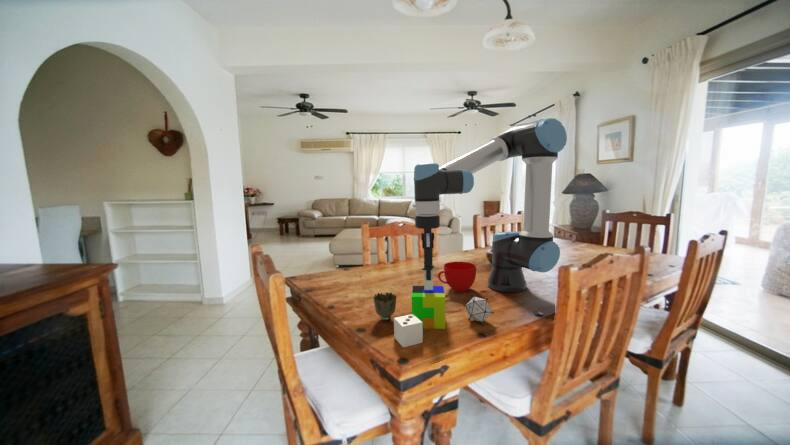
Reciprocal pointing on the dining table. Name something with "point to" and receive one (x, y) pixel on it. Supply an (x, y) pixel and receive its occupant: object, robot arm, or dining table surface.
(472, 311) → the game die
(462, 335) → the dining table surface
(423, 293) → the puzzle toy
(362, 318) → the dining table surface
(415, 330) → the pip block
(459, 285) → the ceramic cup
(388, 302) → the cup
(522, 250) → the robot arm
